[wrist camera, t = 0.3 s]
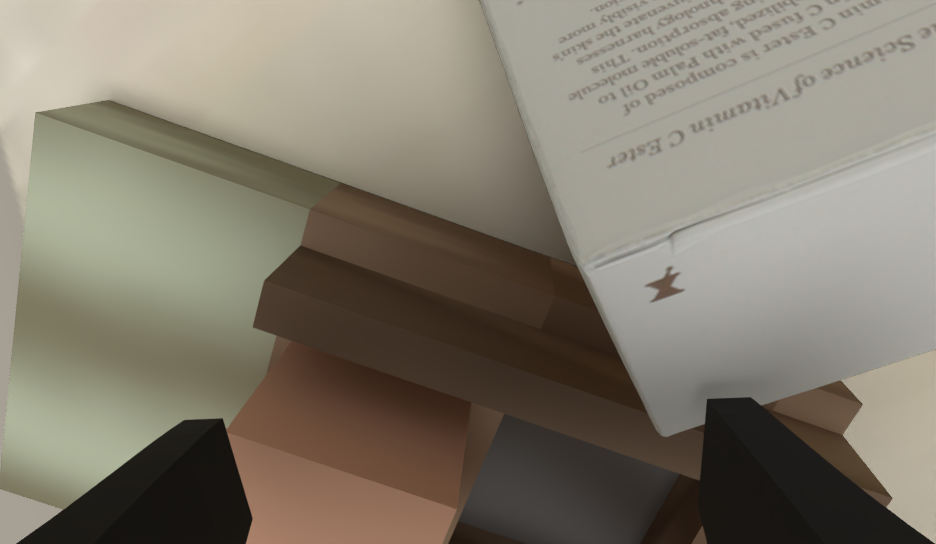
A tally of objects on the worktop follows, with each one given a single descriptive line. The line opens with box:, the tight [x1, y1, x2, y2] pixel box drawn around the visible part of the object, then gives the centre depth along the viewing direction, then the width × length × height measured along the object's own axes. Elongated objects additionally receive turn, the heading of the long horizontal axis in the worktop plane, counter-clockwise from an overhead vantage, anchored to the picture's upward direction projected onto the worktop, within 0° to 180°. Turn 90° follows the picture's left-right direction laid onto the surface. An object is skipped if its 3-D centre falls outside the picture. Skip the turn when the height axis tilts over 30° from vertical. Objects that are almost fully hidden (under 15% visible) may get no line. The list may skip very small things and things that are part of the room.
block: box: [226, 341, 471, 544], centre depth 16 cm, size 5×5×4 cm
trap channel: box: [0, 100, 893, 544], centre depth 19 cm, size 12×22×6 cm, turn 71°
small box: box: [479, 0, 936, 437], centre depth 12 cm, size 8×6×10 cm
